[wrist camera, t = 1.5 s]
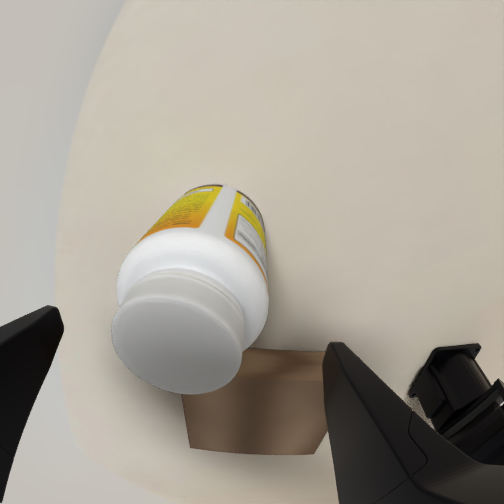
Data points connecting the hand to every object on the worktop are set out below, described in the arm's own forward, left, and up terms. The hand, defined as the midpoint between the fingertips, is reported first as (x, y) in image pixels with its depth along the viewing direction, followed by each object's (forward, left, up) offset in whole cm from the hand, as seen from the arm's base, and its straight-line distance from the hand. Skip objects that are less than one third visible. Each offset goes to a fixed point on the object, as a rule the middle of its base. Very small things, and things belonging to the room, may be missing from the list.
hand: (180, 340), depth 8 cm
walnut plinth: (-4, +15, -10) cm, 18 cm away
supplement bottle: (0, 0, -10) cm, 10 cm away
